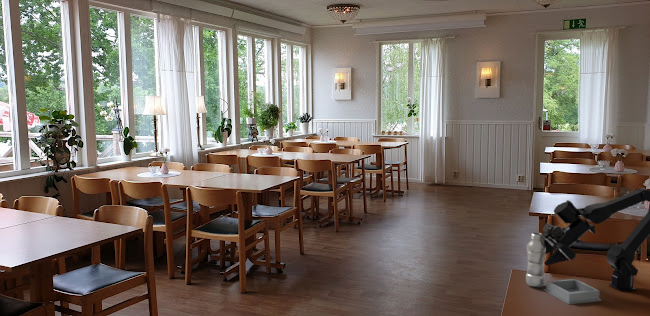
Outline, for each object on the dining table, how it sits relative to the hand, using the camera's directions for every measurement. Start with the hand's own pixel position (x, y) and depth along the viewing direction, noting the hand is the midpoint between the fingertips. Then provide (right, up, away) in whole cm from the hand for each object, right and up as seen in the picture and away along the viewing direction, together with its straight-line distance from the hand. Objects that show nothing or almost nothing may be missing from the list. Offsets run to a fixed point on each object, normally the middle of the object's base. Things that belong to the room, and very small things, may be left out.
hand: (540, 260), depth 185 cm
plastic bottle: (-2, -10, +1) cm, 10 cm away
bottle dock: (+8, -11, -8) cm, 15 cm away
